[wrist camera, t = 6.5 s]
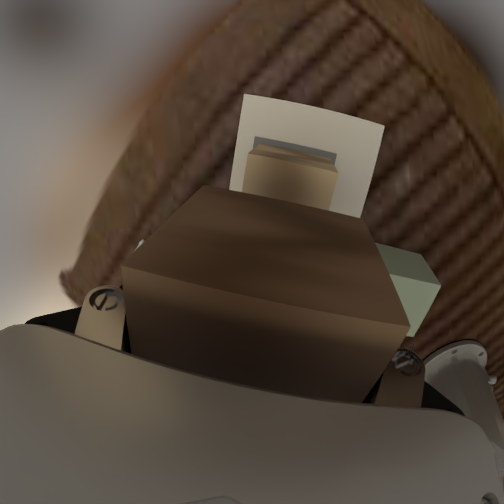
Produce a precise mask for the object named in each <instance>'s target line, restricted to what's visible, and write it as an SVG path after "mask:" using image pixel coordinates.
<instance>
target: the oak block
mask: <svg viewBox="0 0 504 504" xmlns="http://www.w3.org/2000/svg"><path fill="white" fill-rule="evenodd" d="M337 177H338V171H337V169H336V168H335V166H334V164H333V162H332V161H331V159H330V158H327V157H323V156H319V155H315V154H310V153H306V152H302V151H297V150H292V149H288V148H283V147H278V146H273V145H267V144H262V143H259V144H258V145H257V146H256V147H255V148H253V149H252V150H251V151H250V152H249V153H248V156H247V162H246V168H245V174H244V180H243V187H242V192H244V193H249V194H254V195H259V196H264V197H269V198H274V199H279V200H283V201H288V202H293V203H297V204H302V205H306V206H311V207H315V208H320V209H324V210H328V211H329V208H330V204H331V200H332V197H333V193H334V189H335V185H336V181H337Z"/></svg>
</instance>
